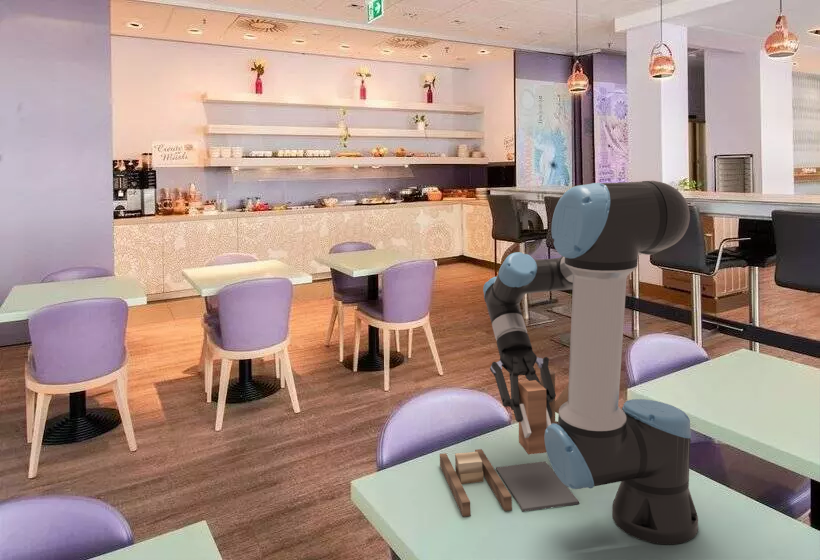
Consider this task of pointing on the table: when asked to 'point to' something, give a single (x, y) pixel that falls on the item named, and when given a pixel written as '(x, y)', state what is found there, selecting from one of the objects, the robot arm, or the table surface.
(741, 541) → the table surface
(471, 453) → the offcut upper
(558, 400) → the brown wooden forked piece
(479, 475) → the offcut lower
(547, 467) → the mat
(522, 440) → the tall board
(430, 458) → the table surface
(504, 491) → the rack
